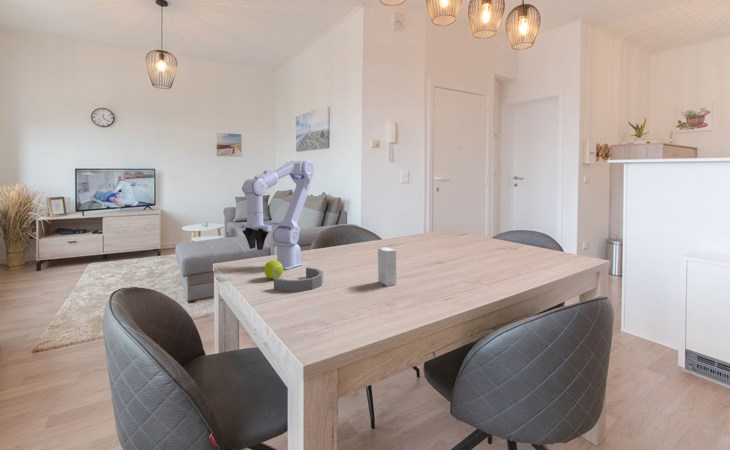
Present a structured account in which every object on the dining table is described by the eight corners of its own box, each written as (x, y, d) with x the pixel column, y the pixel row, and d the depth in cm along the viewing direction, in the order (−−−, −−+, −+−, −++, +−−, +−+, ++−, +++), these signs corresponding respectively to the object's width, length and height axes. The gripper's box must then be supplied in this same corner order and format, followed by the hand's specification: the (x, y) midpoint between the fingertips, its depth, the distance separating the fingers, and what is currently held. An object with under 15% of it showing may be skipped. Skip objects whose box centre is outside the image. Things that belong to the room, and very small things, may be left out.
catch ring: (308, 276, 137) (308, 267, 137) (332, 281, 131) (332, 271, 131) (273, 289, 122) (273, 278, 122) (299, 294, 117) (299, 284, 116)
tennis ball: (277, 275, 139) (276, 257, 138) (287, 278, 134) (286, 260, 133) (260, 278, 134) (260, 260, 133) (270, 282, 130) (269, 263, 129)
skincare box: (396, 284, 128) (397, 250, 126) (385, 286, 126) (386, 251, 124) (388, 280, 133) (388, 246, 132) (377, 281, 131) (377, 247, 130)
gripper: (232, 212, 136) (234, 248, 138) (260, 214, 128) (262, 253, 130) (247, 210, 142) (249, 245, 144) (275, 212, 134) (276, 249, 136)
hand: (256, 248), depth 137 cm, fingers open, 3 cm apart
